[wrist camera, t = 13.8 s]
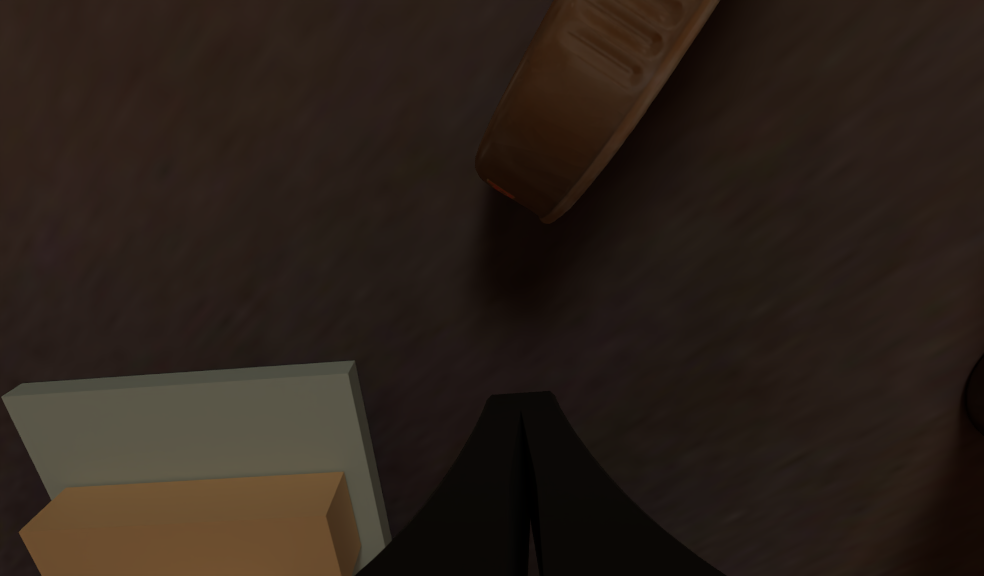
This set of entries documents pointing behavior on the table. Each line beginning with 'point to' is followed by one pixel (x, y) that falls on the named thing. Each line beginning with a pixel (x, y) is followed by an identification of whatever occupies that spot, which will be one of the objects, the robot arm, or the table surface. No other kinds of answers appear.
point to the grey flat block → (206, 432)
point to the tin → (582, 95)
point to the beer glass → (976, 397)
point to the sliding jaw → (199, 528)
